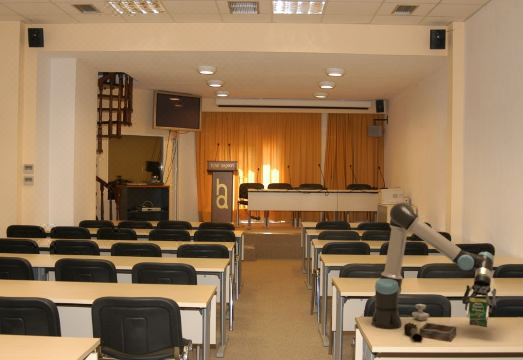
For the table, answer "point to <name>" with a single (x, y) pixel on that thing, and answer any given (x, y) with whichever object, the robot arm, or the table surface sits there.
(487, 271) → the robot arm
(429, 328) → the gray square frame
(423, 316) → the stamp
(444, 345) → the table surface
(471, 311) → the coffee box
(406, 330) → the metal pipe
